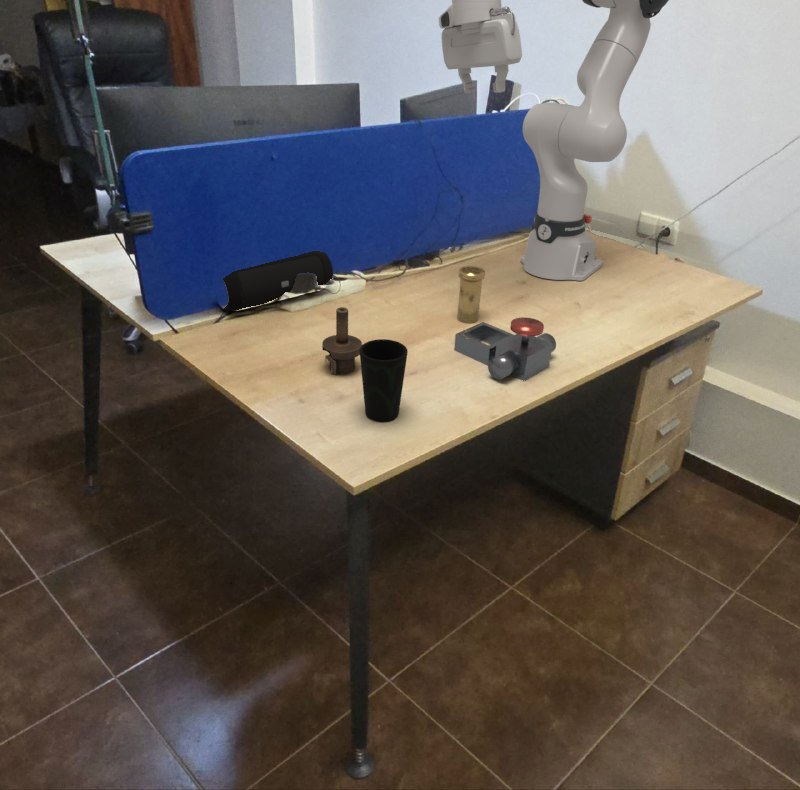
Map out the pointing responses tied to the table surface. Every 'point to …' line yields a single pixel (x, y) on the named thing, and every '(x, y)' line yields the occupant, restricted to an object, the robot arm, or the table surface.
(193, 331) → the table surface
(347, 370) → the industrial component
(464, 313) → the pipe stub
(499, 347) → the valve body
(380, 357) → the cup
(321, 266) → the portable speaker
